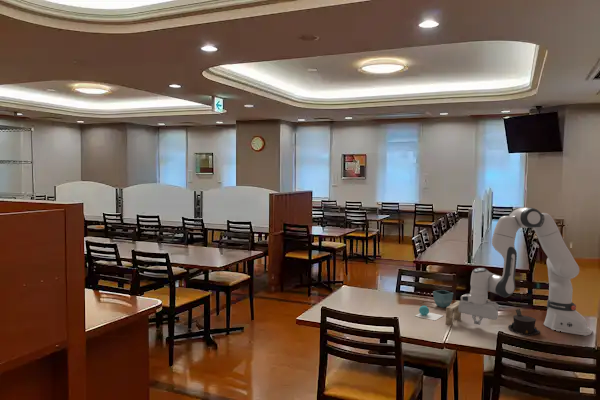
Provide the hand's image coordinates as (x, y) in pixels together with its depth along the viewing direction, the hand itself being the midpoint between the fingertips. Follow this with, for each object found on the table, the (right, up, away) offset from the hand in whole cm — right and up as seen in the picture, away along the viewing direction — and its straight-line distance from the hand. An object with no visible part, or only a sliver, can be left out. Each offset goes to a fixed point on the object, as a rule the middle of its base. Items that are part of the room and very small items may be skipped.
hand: (477, 324), depth 247 cm
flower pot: (-7, +1, +37) cm, 38 cm away
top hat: (+23, -3, -4) cm, 24 cm away
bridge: (-10, -1, +8) cm, 13 cm away
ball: (-24, +3, +18) cm, 30 cm away
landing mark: (-21, 0, +17) cm, 27 cm away
